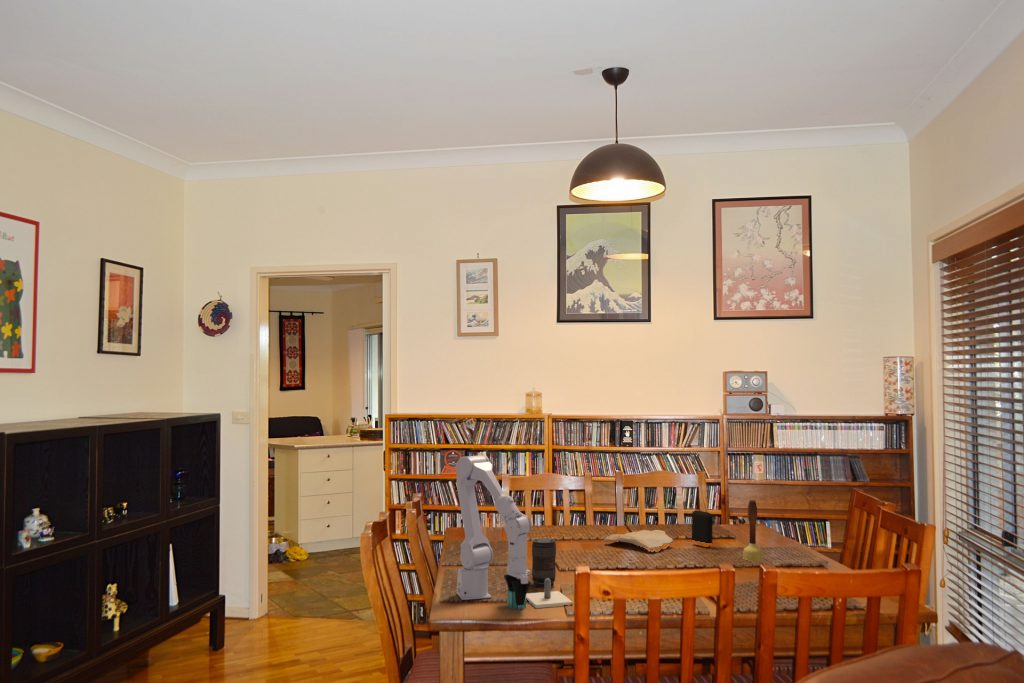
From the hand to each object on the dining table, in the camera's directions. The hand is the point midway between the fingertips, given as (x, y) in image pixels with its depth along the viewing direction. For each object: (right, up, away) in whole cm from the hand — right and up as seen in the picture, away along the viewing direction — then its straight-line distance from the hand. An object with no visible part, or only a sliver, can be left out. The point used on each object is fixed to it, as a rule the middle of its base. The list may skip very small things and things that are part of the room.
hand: (516, 601), depth 225 cm
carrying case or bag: (+78, -7, +86) cm, 116 cm away
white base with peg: (+10, -2, +6) cm, 11 cm away
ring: (0, -1, 0) cm, 1 cm away
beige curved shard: (+52, -7, +86) cm, 101 cm away
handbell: (+88, -6, +51) cm, 102 cm away
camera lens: (+9, -3, +24) cm, 26 cm away
